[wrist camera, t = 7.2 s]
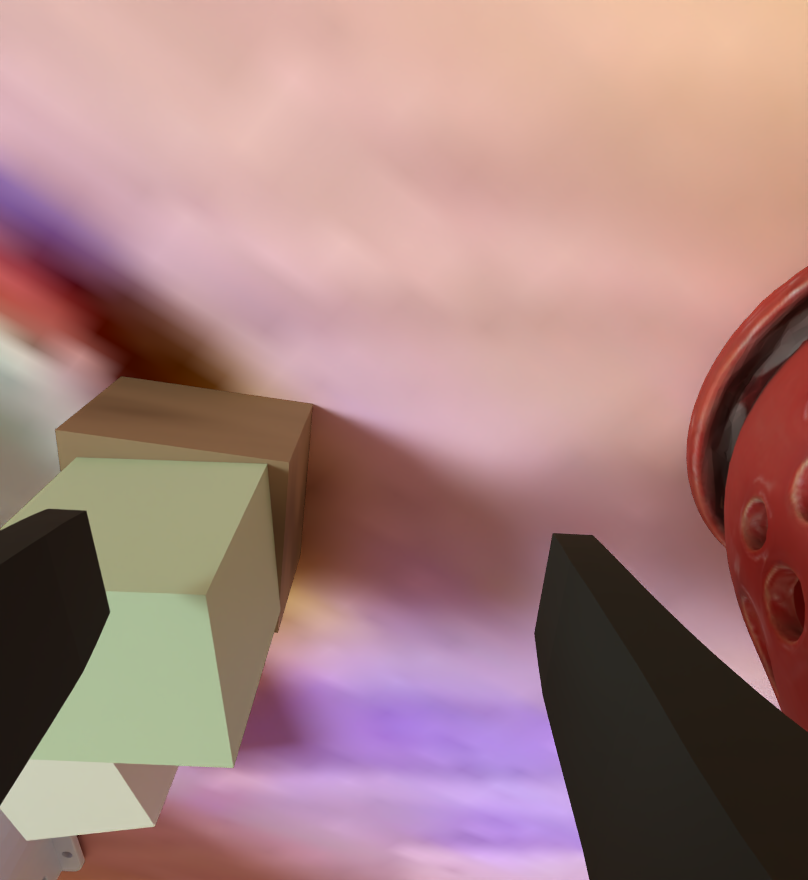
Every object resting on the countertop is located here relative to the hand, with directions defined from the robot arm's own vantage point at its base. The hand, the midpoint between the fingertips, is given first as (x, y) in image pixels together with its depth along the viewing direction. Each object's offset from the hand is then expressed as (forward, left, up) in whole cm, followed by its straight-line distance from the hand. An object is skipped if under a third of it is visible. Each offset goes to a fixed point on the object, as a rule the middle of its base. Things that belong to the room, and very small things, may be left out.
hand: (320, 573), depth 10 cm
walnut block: (-4, +5, -10) cm, 12 cm away
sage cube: (-4, +5, -6) cm, 9 cm away
